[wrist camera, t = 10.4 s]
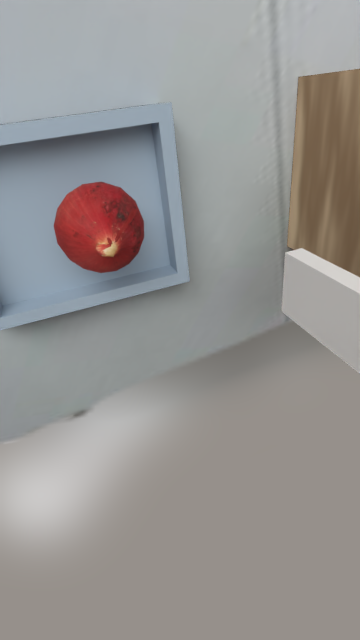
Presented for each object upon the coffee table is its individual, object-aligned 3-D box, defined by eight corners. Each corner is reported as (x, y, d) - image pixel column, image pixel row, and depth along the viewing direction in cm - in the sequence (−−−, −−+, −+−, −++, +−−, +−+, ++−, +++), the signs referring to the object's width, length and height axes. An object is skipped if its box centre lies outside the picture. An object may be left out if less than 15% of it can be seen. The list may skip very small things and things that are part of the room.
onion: (85, 155, 24) (101, 171, 17) (146, 209, 27) (179, 239, 21) (36, 221, 25) (35, 260, 18) (101, 265, 28) (119, 311, 22)
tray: (-4, 313, 28) (-8, 332, 26) (-89, 136, 21) (-106, 139, 19) (178, 268, 32) (189, 281, 29) (158, 103, 25) (171, 102, 22)
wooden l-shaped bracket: (216, 263, 33) (400, 423, 16) (207, 88, 25) (542, 42, 8) (297, 243, 35) (536, 366, 18) (311, 75, 27) (753, 15, 10)
